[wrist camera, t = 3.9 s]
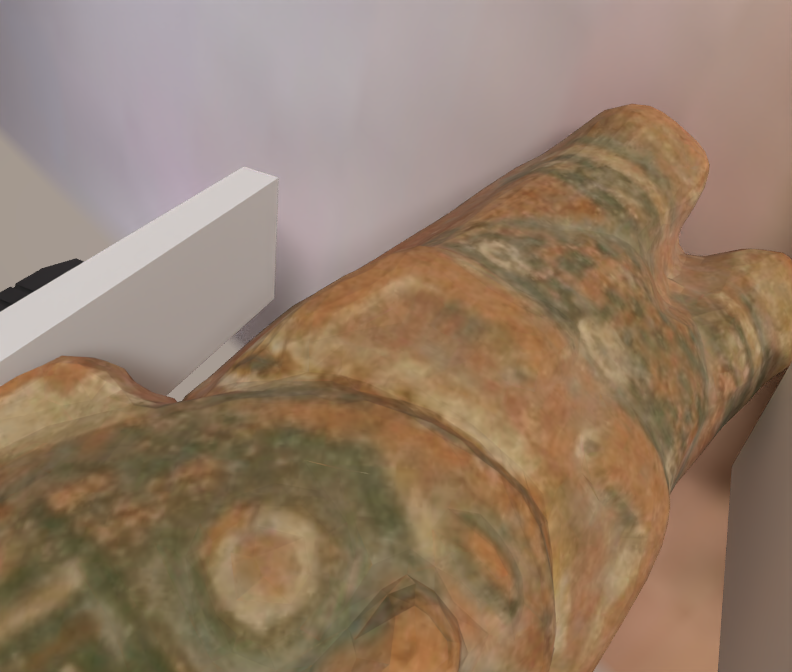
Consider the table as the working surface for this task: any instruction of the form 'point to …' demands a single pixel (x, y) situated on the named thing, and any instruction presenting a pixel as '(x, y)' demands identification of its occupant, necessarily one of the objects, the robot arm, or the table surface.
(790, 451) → the robot arm
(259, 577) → the figurine
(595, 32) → the table surface
